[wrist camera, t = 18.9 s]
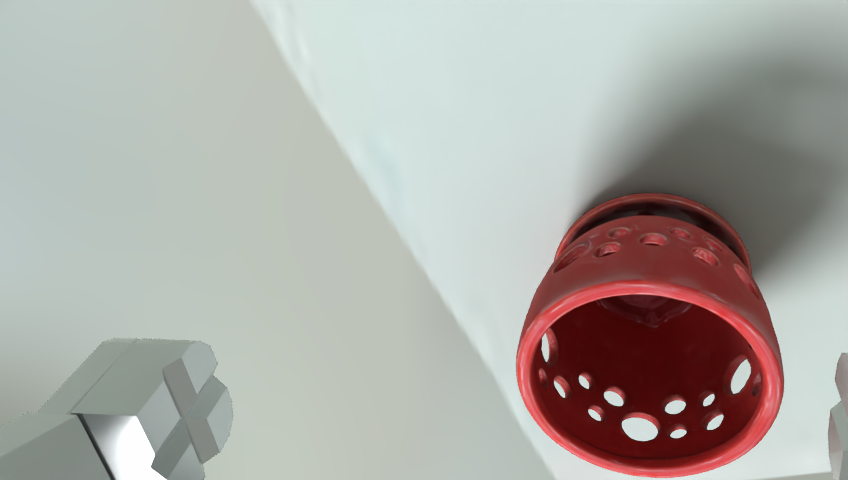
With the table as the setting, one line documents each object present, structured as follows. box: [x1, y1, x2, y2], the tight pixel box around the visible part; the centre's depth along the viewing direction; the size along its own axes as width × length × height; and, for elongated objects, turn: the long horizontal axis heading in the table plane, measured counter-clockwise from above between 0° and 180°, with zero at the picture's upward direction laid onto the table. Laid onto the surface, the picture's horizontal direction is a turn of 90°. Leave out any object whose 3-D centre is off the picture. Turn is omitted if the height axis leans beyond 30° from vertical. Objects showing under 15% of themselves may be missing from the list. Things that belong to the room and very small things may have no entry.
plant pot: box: [516, 193, 784, 478], centre depth 42 cm, size 13×13×12 cm
